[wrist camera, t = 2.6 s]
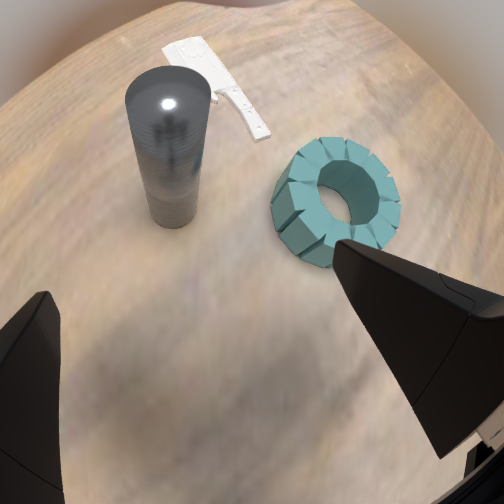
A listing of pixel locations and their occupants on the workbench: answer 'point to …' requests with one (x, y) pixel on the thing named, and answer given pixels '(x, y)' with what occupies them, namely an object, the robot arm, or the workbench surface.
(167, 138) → the shiny metal cylinder
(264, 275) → the workbench surface
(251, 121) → the butcher knife
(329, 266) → the teal notched ring
